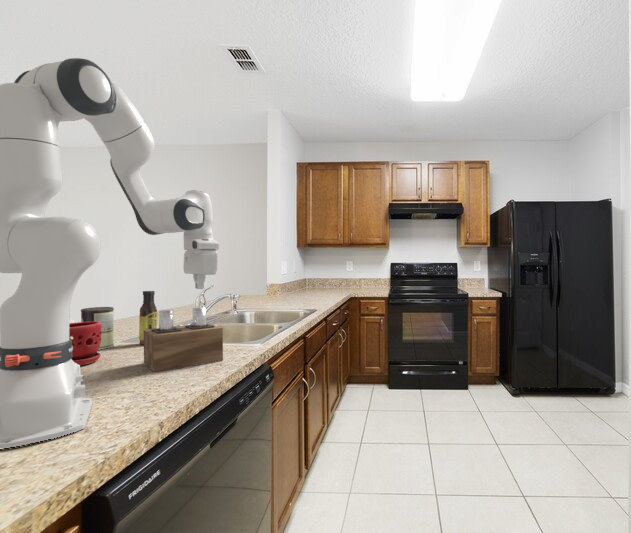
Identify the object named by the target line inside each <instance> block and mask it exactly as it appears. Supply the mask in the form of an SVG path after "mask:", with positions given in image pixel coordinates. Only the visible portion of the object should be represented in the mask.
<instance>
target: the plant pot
mask: <svg viewBox="0 0 631 533" xmlns="http://www.w3.org/2000/svg"><path fill="white" fill-rule="evenodd" d="M101 334H102V327H101V322H95V321H92V322H81V321H79V322H71V323H70V322H69V339H71V340H72V345H73V350H72V358H71V359H72V360H73V361H74V362H75V363H77V364H78V365H80V366H85V365H89V364H93V363H95V362H96V361H98V360H99V359H100V357H101V354H102V353H101V352H98V351H99V350H98V349H99V346H100V343H101Z"/></svg>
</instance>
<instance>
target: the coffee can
mask: <svg viewBox="0 0 631 533" xmlns="http://www.w3.org/2000/svg"><path fill="white" fill-rule="evenodd" d="M80 312H81V313H80V316H81V318H80V319H81V320H80V322H92V321H95V322H101V327H102V334H101V343H100V346H99V349H98V351H101V350H100V349H103V350H107V349H106V348H108V349H111V348H114V347H115V344H114V343H115V342H114V336H115V335H114V307H113V306H98V307H97V306H95V307H86V308H81V309H80ZM110 347H111V348H110Z"/></svg>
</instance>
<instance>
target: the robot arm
mask: <svg viewBox="0 0 631 533" xmlns="http://www.w3.org/2000/svg"><path fill="white" fill-rule="evenodd" d="M83 119H84V120H86V121H87V122H88V123H90V124H91V126H93V128H94V129H93V130H95V132H96V133H97V135H98V137H99V138H100V140H101V141H102V143H103V144H104V146H105V147H106V149H107V151H108V153H109V156H110V161H109V162H110V167H111V170H112V172H113V175H114V176H115V178H116V180H117V182H118V184H119V186H120V188H121V190H122V192H123V193H124V195H125V197H126V199H127V200H128V202H129V204H130V206H131V208H132V210H133V212H134V215H135V219H136V222H137V223H138V226H139V227H140V229H141V230H142V232H144V233H146V234H147V235H150V236H155V235H157V236H158V235H161V234H171V233H173V234H174V233H182V232H183V250H184V253H183V273H184V274H189V275H190V274H191V275H192V276H193V277H192V278H193V281H194V287H195V288H194V289H197V290H203V289H204V288H205V281H206V275H207V276H211V275H213V276H214V275H215V276H216V274H217V271H218V261H219V260H218V258H219V256H218V251H217V250H219V249H220V248H219V247H220V246H219V245H220V244H219V242H218V241H217V240H215V238H214V231H213V229H212V226H213V222H214V214H213V213H214V212H213V205H212V204H213V203H212V199H211V197H210V195H209V194H208V193H206V192H204V191H201V190H187V191H186V192H185V194H183V195H181V196H179V197H176V198H171V199H164V200H162V199H161V200H159V199H156V198H154V197H153V196H151V194H150V192H149V189H148V188H147V185H146V184H145V182H144V180H143V178H142V176H141V173H140V172H141V171H140V170H141V167H143V166H144V165H145V164H146V163H147V162H148V161H150V159H151V157H153V154H154V151H155V147H156V145H155V144H156V142H155V138H154V136H153V134H152V132H151V130H150V128H149V126H148V124H147V123H146V122H145V121H146V120H144V118H143V116H142V115H141V113H140V111H139V110H138V109H137V107H136V106H135V105H134V104H133V102H132V101H131V99H130V98H129V96H128V95H127V94H126V93H125V92H124V91H123V89H122V88H121V87H120V86H119V85H117V84H115V83H114V82H112V80H111V79H110V77H109V76H108V75H107V73H106V71H104V70H103V69H102V67H100V66H99V65H98V64H96V63H95V62H93V61H92V60H89V59H87V58H81V57H79V58H78V57H74V58H66V59H64V60H62V61H56V62H48V63H44V64H41V65H38V66H37V67H35V68H32V69H31V70H26V71H24V72H22V73H20V75H19V76H17V78H16V79H15V80H14V82H7V83H6V82H5V83H1V84H0V273H2V274H21V277H20V281H19V283H18V284H19V285H18V286H17V289H16V291H15V292H14V293H13V294H12V295H11V296H10V297H8V298H7V299H6V300H4V302H2V304H1V305H0V448H7V447H15V448H17V447H16V446H20V447H22V446H21V445H25V446H27V445H26V444H30V443H35V442H39V443H41V442H40V441H43V440H47V441H49V440H48V439H51V440H54V438H55V439H58V438H60V437H61V436H62V437H65V436H67V434H68V435H71V434H73V432H74V433H76V432H79V431H80V430H83V429H85V428H86V426H87V423H88V420H89V417H90V412H91V409H92V407H93V399H92V397H86V384H81V382H84V374H81V365H78V364H77V363H75V362H74V361H73V360H72V359H71V358H72V350H73V345H72V340H71V339H72V338H71V339H69V323H70V318H71V317H70V314H71V313H70V312H71V301H72V297H73V294H74V291H75V288H76V286H77V284H78V282H79V280H80V279H81V277H82V276H83V274H84V273H85V272H87V270H88V269H89V268H91V267H92V266H93V265H94V264H95V263H96V262H97V260H98V259H99V256H100V253H101V250H102V249H101V247H102V244H101V238H100V236H99V233H98V232H97V230H96V229H95V227H94V226H93V225H92V224H91V223H89V222H87V221H85V220H81V219H76V218H71V217H65V216H45V213H46V211H47V210H46V209H47V207H48V204H49V203H50V201H51V200H52V198H53V197H55V196H56V195H57V194H58V193H59V192H60V191H61V190H62V187H63V173H62V170H63V169H62V160H61V150H60V149H61V148H60V139H59V134H58V133H59V132H58V131H59V130H58V129H59V128H58V127H59V124H60V122H75V121H79V120H83ZM91 406H92V407H91ZM87 419H88V420H87ZM70 433H71V434H70ZM64 435H65V436H64ZM57 437H58V438H57ZM43 442H44V441H43ZM35 444H36V443H35ZM30 445H31V444H30Z"/></svg>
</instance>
